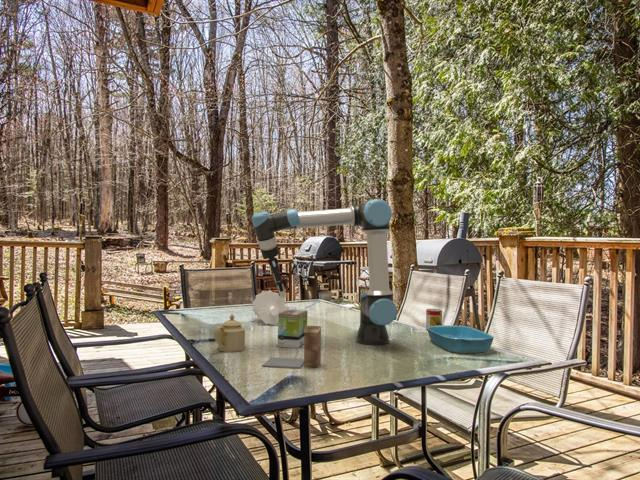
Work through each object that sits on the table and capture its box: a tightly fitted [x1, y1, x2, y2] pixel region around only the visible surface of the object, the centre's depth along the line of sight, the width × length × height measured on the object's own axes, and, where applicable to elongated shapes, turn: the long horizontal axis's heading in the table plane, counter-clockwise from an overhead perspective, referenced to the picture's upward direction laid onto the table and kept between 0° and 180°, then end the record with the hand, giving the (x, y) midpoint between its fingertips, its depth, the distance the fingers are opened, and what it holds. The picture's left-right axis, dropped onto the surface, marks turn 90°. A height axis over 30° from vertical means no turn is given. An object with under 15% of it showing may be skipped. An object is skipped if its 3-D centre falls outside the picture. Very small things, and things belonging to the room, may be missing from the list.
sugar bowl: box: [213, 313, 246, 353], centre depth 198 cm, size 15×11×15 cm
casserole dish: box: [427, 324, 494, 354], centre depth 211 cm, size 37×22×7 cm, turn 7°
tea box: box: [277, 309, 308, 349], centre depth 212 cm, size 15×10×15 cm, turn 168°
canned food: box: [425, 308, 443, 331], centre depth 242 cm, size 8×8×12 cm
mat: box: [261, 357, 304, 370], centre depth 177 cm, size 14×12×1 cm
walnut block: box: [303, 325, 322, 369], centre depth 176 cm, size 5×7×14 cm
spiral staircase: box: [252, 289, 290, 326], centre depth 268 cm, size 18×18×25 cm
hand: (281, 291), depth 209 cm, fingers open, 13 cm apart
